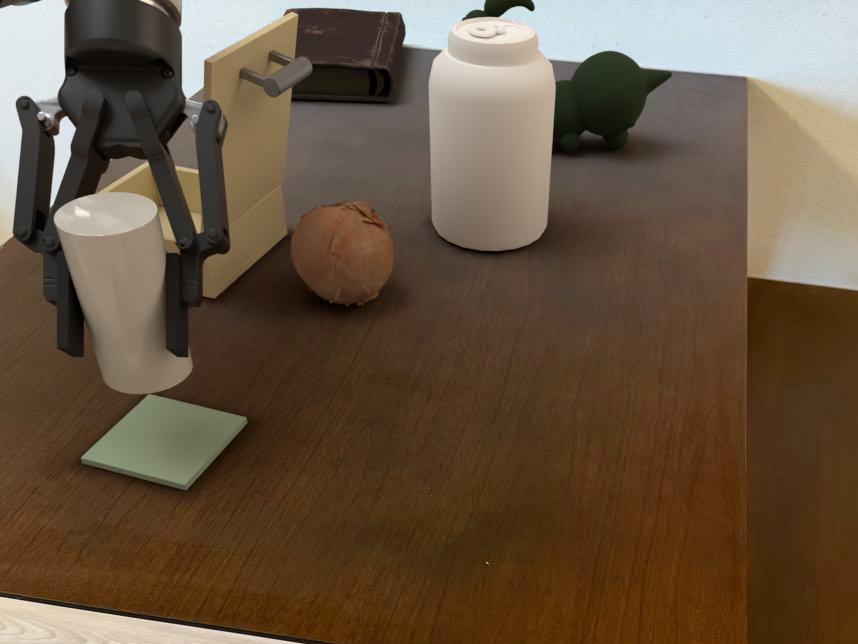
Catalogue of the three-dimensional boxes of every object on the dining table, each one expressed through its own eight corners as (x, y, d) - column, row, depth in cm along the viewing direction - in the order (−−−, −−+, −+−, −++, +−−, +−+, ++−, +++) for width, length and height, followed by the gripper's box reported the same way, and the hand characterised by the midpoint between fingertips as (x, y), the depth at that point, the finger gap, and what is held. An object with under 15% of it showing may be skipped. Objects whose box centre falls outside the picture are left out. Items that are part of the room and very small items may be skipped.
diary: (406, 45, 148) (405, 9, 145) (394, 104, 130) (393, 65, 127) (284, 41, 148) (280, 5, 144) (255, 100, 130) (250, 60, 126)
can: (461, 263, 99) (461, 54, 85) (413, 213, 106) (406, 14, 93) (568, 241, 103) (584, 39, 89) (514, 194, 111) (521, 2, 97)
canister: (83, 383, 69) (31, 225, 61) (135, 338, 74) (94, 185, 65) (161, 402, 68) (119, 243, 60) (209, 355, 72) (176, 201, 64)
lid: (203, 59, 76) (255, 81, 76) (291, 11, 86) (337, 30, 86) (200, 241, 88) (244, 260, 88) (277, 179, 98) (317, 196, 98)
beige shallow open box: (74, 268, 95) (58, 217, 91) (158, 208, 105) (147, 160, 101) (214, 298, 92) (204, 246, 88) (287, 233, 102) (281, 184, 98)
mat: (82, 463, 73) (80, 457, 73) (150, 399, 80) (148, 393, 79) (186, 490, 72) (184, 484, 71) (247, 423, 78) (246, 417, 77)
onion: (379, 309, 97) (417, 216, 93) (361, 335, 89) (402, 233, 84) (291, 268, 96) (325, 171, 91) (264, 289, 87) (300, 184, 83)
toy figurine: (473, 173, 119) (674, 157, 119) (459, 3, 106) (685, -14, 106) (471, 143, 126) (661, 128, 126) (457, -20, 113) (670, -36, 113)
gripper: (277, 52, 71) (278, 364, 70) (5, 46, 69) (3, 364, 69) (255, -9, 63) (256, 340, 63) (-50, -17, 62) (-52, 339, 61)
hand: (124, 352), depth 66 cm, fingers closed on canister, 6 cm apart
